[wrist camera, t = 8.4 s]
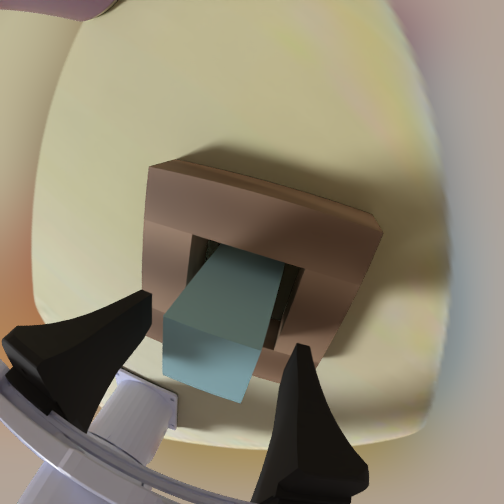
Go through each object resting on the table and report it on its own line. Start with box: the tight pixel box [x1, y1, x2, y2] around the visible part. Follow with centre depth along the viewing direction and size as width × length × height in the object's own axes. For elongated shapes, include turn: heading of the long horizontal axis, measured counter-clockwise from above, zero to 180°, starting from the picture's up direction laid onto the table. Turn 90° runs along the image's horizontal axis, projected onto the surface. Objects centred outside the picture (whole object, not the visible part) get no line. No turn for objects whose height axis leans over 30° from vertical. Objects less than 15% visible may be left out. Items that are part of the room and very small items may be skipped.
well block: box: [142, 159, 383, 383], centre depth 17 cm, size 12×12×3 cm
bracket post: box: [163, 243, 285, 403], centre depth 15 cm, size 4×4×8 cm
